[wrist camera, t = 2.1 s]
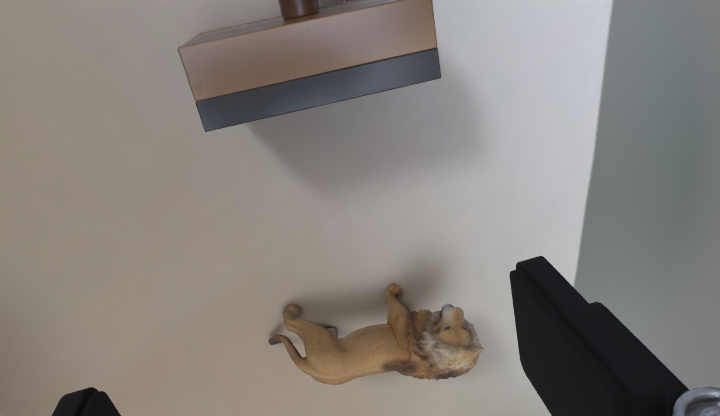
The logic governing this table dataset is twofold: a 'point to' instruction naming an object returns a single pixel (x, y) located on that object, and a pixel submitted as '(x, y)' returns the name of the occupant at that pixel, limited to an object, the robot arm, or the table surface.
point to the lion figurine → (386, 344)
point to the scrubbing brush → (309, 58)
